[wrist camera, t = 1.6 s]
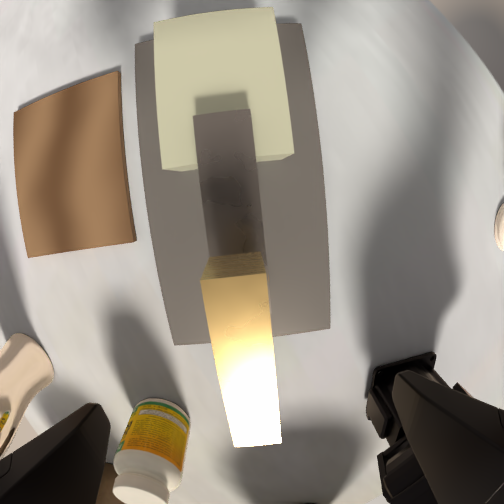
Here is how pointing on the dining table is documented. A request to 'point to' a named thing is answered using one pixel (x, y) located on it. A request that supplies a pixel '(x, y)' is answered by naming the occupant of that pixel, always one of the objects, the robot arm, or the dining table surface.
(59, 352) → the dining table surface
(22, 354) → the silver metal tumbler
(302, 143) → the base
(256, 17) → the cover
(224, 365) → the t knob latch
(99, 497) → the pillar candle
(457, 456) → the robot arm
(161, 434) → the supplement bottle
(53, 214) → the walnut mat
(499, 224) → the chess piece
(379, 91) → the dining table surface
